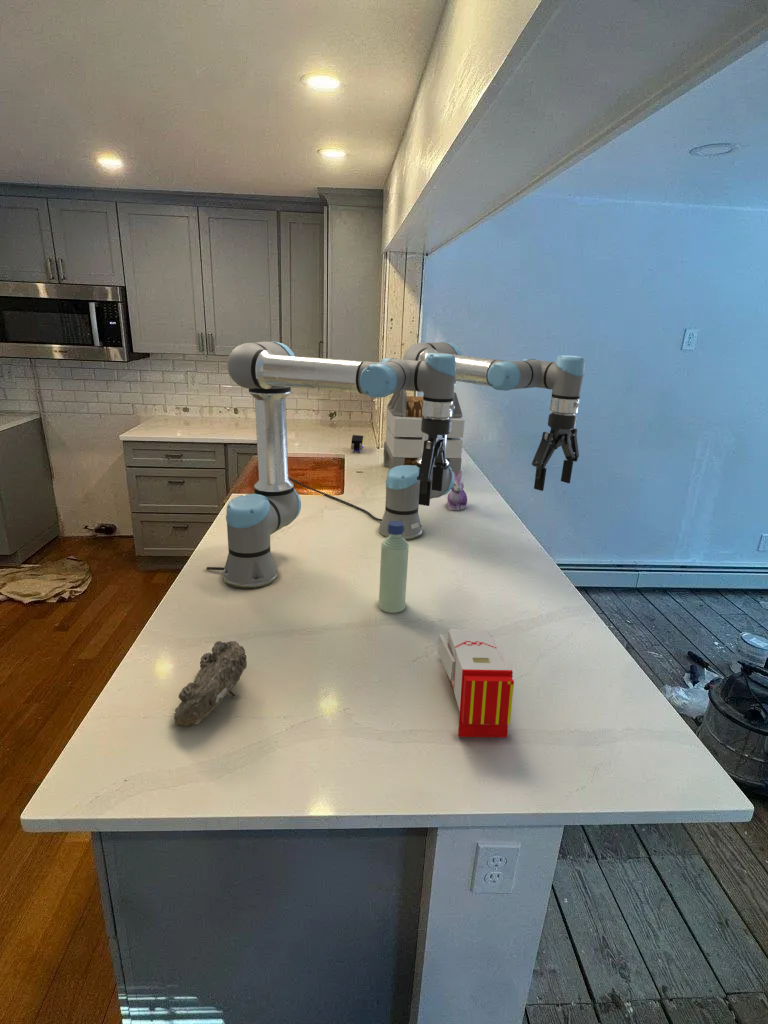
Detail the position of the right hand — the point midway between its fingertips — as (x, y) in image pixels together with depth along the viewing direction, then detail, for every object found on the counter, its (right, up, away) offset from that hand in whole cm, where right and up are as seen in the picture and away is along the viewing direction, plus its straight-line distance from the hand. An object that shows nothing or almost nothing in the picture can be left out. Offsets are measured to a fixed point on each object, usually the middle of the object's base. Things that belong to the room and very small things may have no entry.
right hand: (552, 485), depth 166 cm
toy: (-31, -45, -47) cm, 72 cm away
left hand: (-37, -4, -16) cm, 40 cm away
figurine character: (-64, +26, +146) cm, 162 cm away
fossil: (-83, -44, -51) cm, 107 cm away
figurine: (-20, -6, +64) cm, 67 cm away
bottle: (-47, -33, -14) cm, 59 cm away
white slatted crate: (-32, +11, +109) cm, 115 cm away
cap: (-46, -11, -22) cm, 52 cm away
